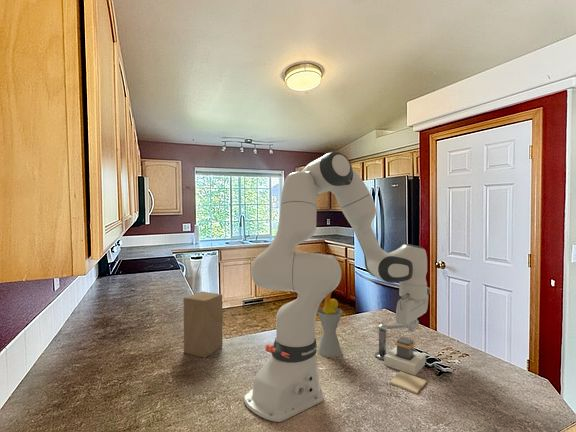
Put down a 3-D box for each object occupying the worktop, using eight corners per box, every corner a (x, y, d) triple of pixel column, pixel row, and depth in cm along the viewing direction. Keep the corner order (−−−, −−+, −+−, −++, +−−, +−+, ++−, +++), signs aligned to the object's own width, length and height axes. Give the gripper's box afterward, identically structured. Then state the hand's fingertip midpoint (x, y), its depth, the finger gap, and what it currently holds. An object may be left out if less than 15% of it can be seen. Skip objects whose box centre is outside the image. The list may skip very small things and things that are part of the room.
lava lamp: (325, 359, 106) (325, 257, 106) (312, 348, 114) (312, 254, 114) (347, 354, 110) (347, 256, 109) (333, 344, 118) (333, 253, 118)
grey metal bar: (380, 329, 106) (380, 323, 106) (376, 326, 109) (376, 320, 109) (419, 327, 108) (419, 321, 108) (415, 324, 111) (415, 318, 111)
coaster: (417, 394, 86) (417, 392, 86) (389, 383, 91) (389, 381, 91) (426, 382, 92) (426, 380, 92) (400, 372, 97) (400, 371, 97)
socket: (414, 375, 96) (415, 365, 96) (384, 364, 102) (384, 355, 102) (425, 363, 103) (425, 354, 103) (396, 354, 110) (396, 346, 110)
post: (386, 361, 105) (386, 333, 104) (372, 356, 108) (372, 329, 108) (392, 356, 108) (392, 328, 108) (378, 352, 112) (378, 325, 111)
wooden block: (223, 347, 116) (222, 293, 115) (205, 358, 107) (205, 300, 106) (201, 342, 120) (201, 291, 120) (183, 353, 111) (182, 297, 111)
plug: (409, 369, 99) (409, 344, 99) (395, 364, 103) (395, 340, 102) (415, 364, 103) (415, 340, 103) (400, 359, 106) (401, 336, 106)
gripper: (410, 298, 97) (409, 342, 97) (431, 288, 112) (430, 325, 112) (391, 294, 101) (390, 336, 102) (414, 285, 117) (413, 321, 117)
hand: (411, 331), depth 107 cm, fingers closed
